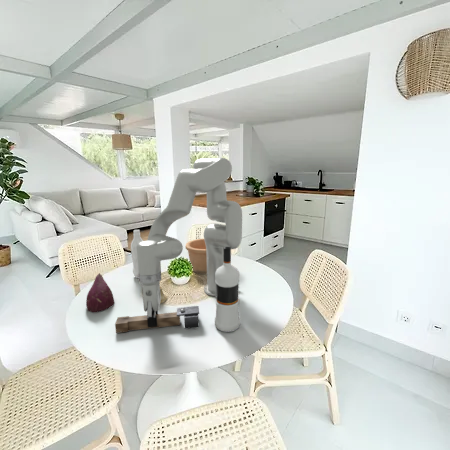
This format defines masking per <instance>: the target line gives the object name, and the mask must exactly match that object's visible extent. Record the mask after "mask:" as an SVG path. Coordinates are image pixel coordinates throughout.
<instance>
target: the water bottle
mask: <svg viewBox="0 0 450 450" xmlns="http://www.w3.org/2000/svg"><path fill="white" fill-rule="evenodd" d="M140 231H141V230H140V229H134V230H133V234H132V236H133V239H132V240H131V243H130V250H131V253H130V254H131V259H132V265H133V268H132V273H133V276H134V277H135V278H136V279H139V275H138V262H137V249H136V247H137V244H138V243H140V242H142V241H144V240H143V238H142V237H141V234H142V233H141V232H140Z"/></svg>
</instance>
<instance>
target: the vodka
mask: <svg viewBox="0 0 450 450" xmlns="http://www.w3.org/2000/svg"><path fill="white" fill-rule="evenodd" d="M223 253H224V254H223V265H222V266H221V267H219V268H218V269H217V270H216V272H215V278H216V280H215V282H216V296H215V317H214V326H215V327H216V329H218V330H219V331H221V332H225V333H231V332H234V331H236V330H237V329H239V327H240V325H241V318H240V312H239V304H240V298H239V288H240V287H239V283H240V272H239V270H238V268H237V267H235V266H233V265H232V249H231V247H228V246H226V247H224V248H223Z"/></svg>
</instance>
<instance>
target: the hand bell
mask: <svg viewBox="0 0 450 450" xmlns="http://www.w3.org/2000/svg"><path fill="white" fill-rule="evenodd" d="M160 293H161V302H160V305H161V304H162V303H163V304H164V303H165V302H167V300H168V297H167V295H166V294H165V293H164V292H163V288H162V286H160Z"/></svg>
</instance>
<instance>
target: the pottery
mask: <svg viewBox="0 0 450 450" xmlns="http://www.w3.org/2000/svg"><path fill="white" fill-rule="evenodd" d="M185 250H186V251H188V252H187V254H188V258H189V263H190V262H191V264H192V266H193V270H194V271H193V272H194V273H196V274H202V275H207V254H206V245H205V240H204V238H198V239H197V238H196V239H193V240H190V241H188V242H186V243H185ZM191 264H190V265H191Z"/></svg>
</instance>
